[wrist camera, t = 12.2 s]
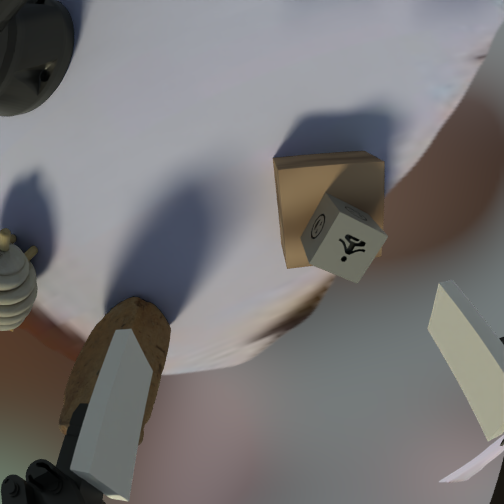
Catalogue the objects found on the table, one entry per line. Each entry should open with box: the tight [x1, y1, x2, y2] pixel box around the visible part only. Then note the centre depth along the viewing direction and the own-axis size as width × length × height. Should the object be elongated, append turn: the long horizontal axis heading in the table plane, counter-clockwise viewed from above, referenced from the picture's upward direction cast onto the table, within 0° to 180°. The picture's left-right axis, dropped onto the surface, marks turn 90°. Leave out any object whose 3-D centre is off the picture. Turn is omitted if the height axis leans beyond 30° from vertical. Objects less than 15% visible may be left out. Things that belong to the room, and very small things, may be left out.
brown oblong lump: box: [59, 297, 171, 445], centre depth 33 cm, size 11×8×20 cm
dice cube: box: [300, 192, 388, 283], centre depth 28 cm, size 5×5×5 cm
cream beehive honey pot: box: [0, 228, 38, 331], centre depth 33 cm, size 11×17×11 cm, turn 157°
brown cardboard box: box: [273, 151, 384, 269], centre depth 32 cm, size 10×10×6 cm
